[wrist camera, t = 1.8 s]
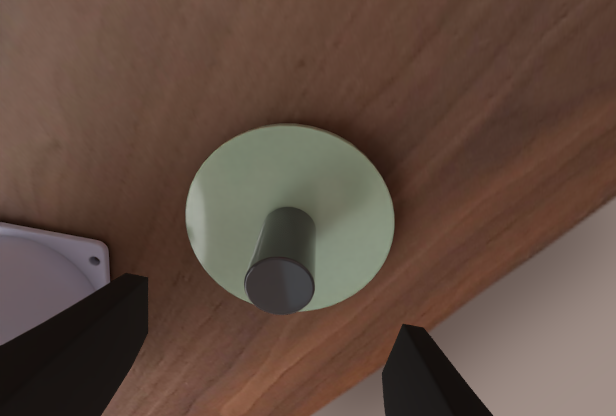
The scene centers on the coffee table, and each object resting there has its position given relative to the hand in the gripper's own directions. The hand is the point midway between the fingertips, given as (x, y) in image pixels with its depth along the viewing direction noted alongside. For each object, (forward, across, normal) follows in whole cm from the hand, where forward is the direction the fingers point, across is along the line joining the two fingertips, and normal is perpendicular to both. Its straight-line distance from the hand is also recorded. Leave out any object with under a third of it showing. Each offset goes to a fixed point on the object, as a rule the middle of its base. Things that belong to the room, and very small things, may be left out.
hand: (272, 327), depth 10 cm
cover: (+6, 0, 0) cm, 6 cm away
